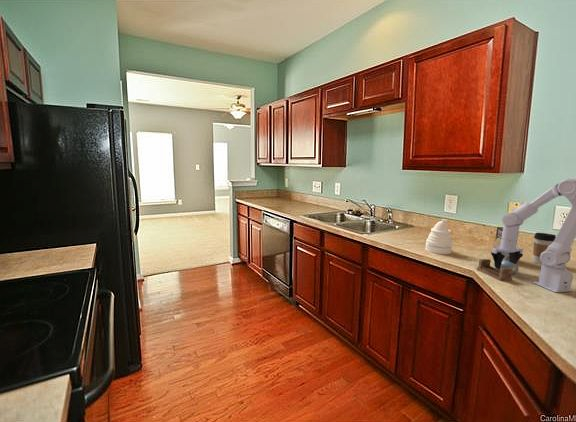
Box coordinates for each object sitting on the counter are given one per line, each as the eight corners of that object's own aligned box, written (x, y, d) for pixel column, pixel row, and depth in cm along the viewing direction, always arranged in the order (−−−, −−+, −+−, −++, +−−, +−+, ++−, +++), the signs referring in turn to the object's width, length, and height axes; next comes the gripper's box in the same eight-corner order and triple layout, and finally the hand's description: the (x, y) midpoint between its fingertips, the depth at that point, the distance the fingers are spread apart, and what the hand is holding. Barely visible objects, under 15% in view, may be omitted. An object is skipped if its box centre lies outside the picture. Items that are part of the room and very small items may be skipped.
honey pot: (456, 253, 164) (460, 221, 161) (437, 255, 161) (441, 222, 157) (438, 246, 176) (442, 216, 173) (420, 247, 173) (423, 217, 169)
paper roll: (515, 276, 136) (520, 265, 135) (507, 273, 135) (511, 263, 134) (500, 269, 144) (504, 259, 143) (492, 266, 143) (496, 256, 142)
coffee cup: (543, 266, 147) (548, 236, 145) (525, 260, 155) (530, 232, 153) (555, 264, 150) (561, 235, 147) (537, 259, 158) (542, 231, 155)
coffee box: (491, 255, 162) (496, 226, 159) (505, 256, 160) (510, 227, 157) (500, 261, 153) (505, 230, 150) (514, 262, 151) (519, 231, 148)
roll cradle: (487, 269, 142) (489, 258, 141) (511, 279, 129) (513, 268, 128) (476, 269, 140) (478, 259, 140) (499, 280, 128) (501, 269, 127)
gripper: (514, 236, 142) (510, 263, 144) (488, 237, 139) (483, 265, 142) (529, 240, 135) (523, 269, 137) (501, 241, 132) (496, 270, 135)
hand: (504, 267), depth 139 cm, fingers open, 7 cm apart
